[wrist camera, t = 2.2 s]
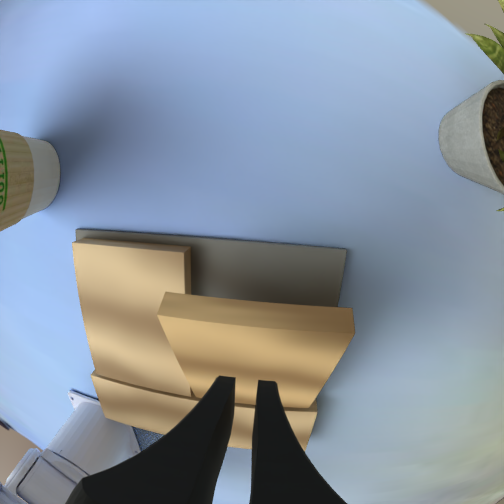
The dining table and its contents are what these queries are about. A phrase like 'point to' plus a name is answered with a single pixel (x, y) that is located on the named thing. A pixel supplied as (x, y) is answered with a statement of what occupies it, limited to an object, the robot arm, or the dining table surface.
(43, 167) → the coffee cup
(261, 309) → the oak plank
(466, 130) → the house plant
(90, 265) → the floor panel
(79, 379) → the dining table surface
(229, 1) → the dining table surface
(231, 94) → the dining table surface
